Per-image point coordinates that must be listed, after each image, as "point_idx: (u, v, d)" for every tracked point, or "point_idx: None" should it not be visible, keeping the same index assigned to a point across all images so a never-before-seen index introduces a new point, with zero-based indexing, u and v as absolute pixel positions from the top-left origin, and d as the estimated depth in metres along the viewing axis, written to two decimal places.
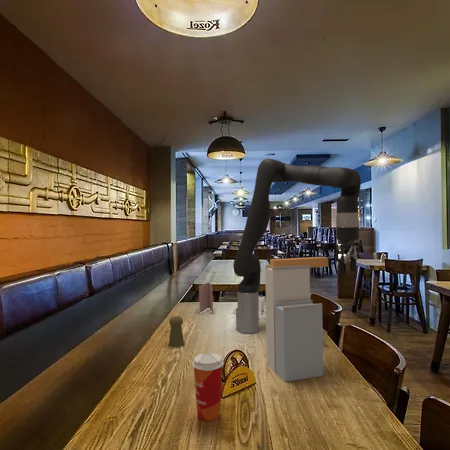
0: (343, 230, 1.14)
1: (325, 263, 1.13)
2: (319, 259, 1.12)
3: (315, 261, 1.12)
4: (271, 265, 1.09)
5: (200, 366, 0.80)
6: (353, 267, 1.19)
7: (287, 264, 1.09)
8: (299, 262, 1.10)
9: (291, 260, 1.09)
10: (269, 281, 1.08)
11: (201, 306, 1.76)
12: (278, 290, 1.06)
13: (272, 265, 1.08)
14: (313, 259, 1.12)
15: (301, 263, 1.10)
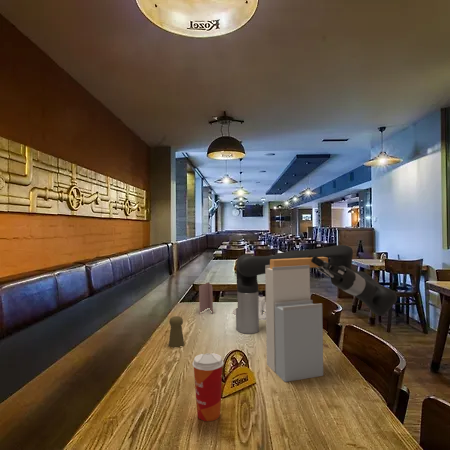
0: (352, 280, 1.13)
1: None
2: None
3: None
4: (271, 265, 1.09)
5: (200, 366, 0.80)
6: None
7: (287, 264, 1.09)
8: (299, 262, 1.10)
9: (291, 260, 1.09)
10: (269, 281, 1.08)
11: (201, 306, 1.76)
12: (278, 290, 1.06)
13: (272, 265, 1.08)
14: None
15: (301, 263, 1.10)
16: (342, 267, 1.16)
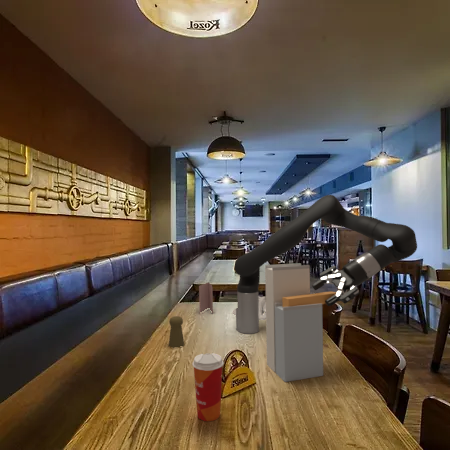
0: (365, 277, 1.07)
1: None
2: (330, 295, 1.08)
3: (327, 297, 1.07)
4: (284, 304, 1.02)
5: (200, 366, 0.80)
6: (317, 287, 1.14)
7: (301, 302, 1.02)
8: (312, 300, 1.04)
9: (305, 298, 1.03)
10: (269, 281, 1.08)
11: (201, 306, 1.76)
12: (278, 290, 1.06)
13: (286, 304, 1.01)
14: (325, 295, 1.07)
15: (313, 300, 1.04)
16: (347, 271, 1.08)
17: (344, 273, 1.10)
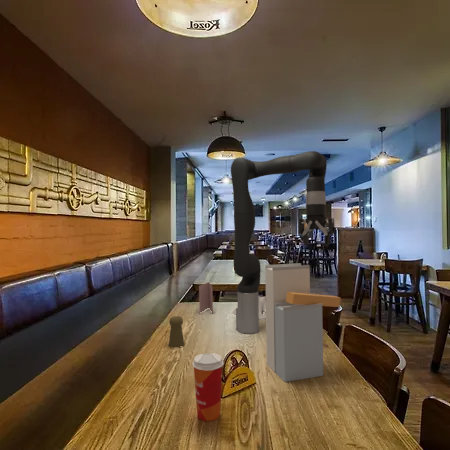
0: (324, 206, 1.29)
1: (337, 303, 1.08)
2: (333, 298, 1.07)
3: (330, 300, 1.07)
4: (289, 298, 1.01)
5: (200, 366, 0.79)
6: (307, 241, 1.34)
7: (305, 299, 1.02)
8: (315, 299, 1.04)
9: (309, 296, 1.02)
10: (269, 281, 1.08)
11: (201, 306, 1.76)
12: (278, 290, 1.06)
13: (290, 299, 1.00)
14: (328, 297, 1.06)
15: (317, 300, 1.04)
16: (313, 215, 1.29)
17: (311, 217, 1.31)
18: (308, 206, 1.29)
